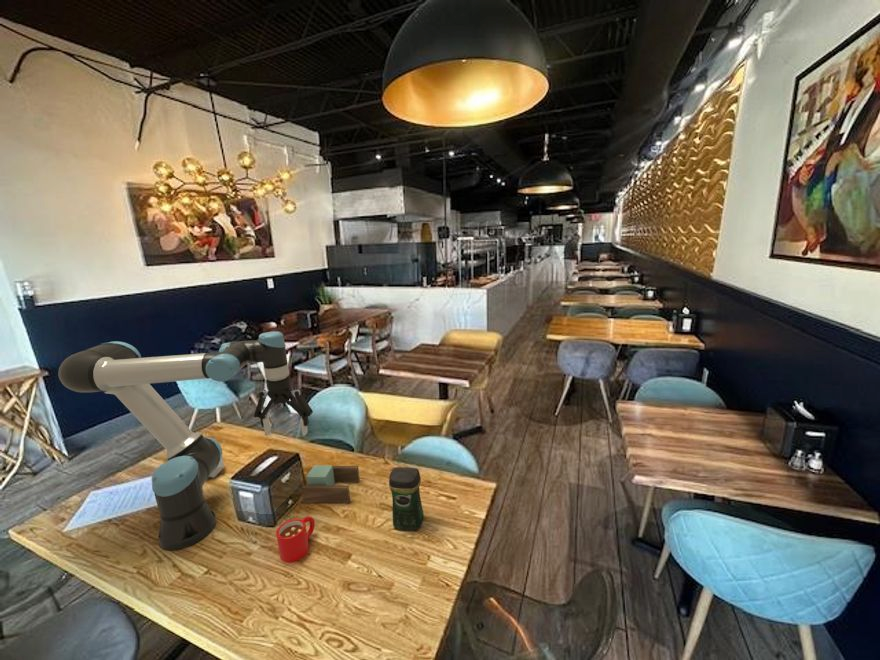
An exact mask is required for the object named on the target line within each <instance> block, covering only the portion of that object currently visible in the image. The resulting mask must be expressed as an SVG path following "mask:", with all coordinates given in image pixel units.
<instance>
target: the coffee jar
mask: <svg viewBox="0 0 880 660" xmlns="http://www.w3.org/2000/svg"><path fill="white" fill-rule="evenodd" d="M420 474H421V473H420V470H419V469H418V468H416V467H408V466H406V467H405V466H403V467H402V466H399V467H398V466H396V467H393V468H392V470H391V471H390V473H389V478H388V487H389V489H390V492H391V498H392V514H391V515H392V525H393V527H394V529H397V530H401V531H402V530H403V531H417V530H418V529H420V528H421V527H422V525H423V522H424V518H425V517H424V516H425V515H424V509H423V505H422V501H421V500H422V499H421V493H420V487H421V482H422V478H421V475H420Z"/></svg>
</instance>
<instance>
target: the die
mask: <svg viewBox="0 0 880 660" xmlns="http://www.w3.org/2000/svg"><path fill="white" fill-rule="evenodd" d="M225 467H226V466H225V461H224V458H223V456H222V457H221V460H220V462H219V464H218V466H217V468H216V469H215V470H214V471H213V472H212V474H211V475H210V476H209V478H212V479H215V477H217V475H218V474H219V473H220V472H221V471H222V470H223V469H224V468H225Z"/></svg>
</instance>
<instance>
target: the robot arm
mask: <svg viewBox="0 0 880 660" xmlns="http://www.w3.org/2000/svg"><path fill="white" fill-rule="evenodd" d="M286 347H287V345H286V343H285V339H284V335H283V333H282V332H281V331H268V332H262V333H260V334H259V335H258V339H256V340H255V339H254V340H242V341H231V342H223V343H222V344H221V345H220V348H219V350H218V352H208V353H207V352H204V353H203V352H202V353H192V354H191V353H190V354H177V355H164V356H163V355H162V356H150V357H149V356H147V357H142V356H141V353H140V351H138V349H137V347H134V346H133V345H132V344H129V343H127V342H124V341H110V342H104V343H103V342H102V343H100V344H98V345H95V346H93V347H90V348H87V349H85V350H82V351H79V352H76V353H74V354H71V355H69V356H68V357H67V358H65V359H64V360H63V361H62V363H61V364H60V366H59V367H58V374H57V375H58V376H57V377H58V378H59V381H60V382H61V384H62V385H63V386H64V387H65V388H67V389H68V390H69V391H73V392H75V393H98V392H103V393H104V394H110V395H114V396H115V397H116V398H117V399H118V400H119V401H120V402H121V403H122V404H123V405H124V406H125V408H127V409H128V410H129V412H130V413H131V414H132V415H133V416H134V417H135V418H136V419H137V420H138V421H139V422H140V424H142V426H143V427H144V428H145V429H147V431H148V432H149V433H150V434H151V435H152V436H153V437H154V439H155V440H157V441H158V443H159V444H160V445H161V446H162V447H163V448H164V449H165V450H166V455H165V459H167V461H165V462H163V463H162V464H160V465H159V466H158V467H156V469H155V470H154V472H153V473H152V475H151V488H152V491H153V493H154V498H155V500H156V505H157V510H158V513H159V517H160V524H159V530H158V531H159V532H158V535H157V537H158V538H157V539H158V543H159V546H160V548H161V549H163V550H165V551H176V550H181V549H184V548H189V547H190V546H192V545H195V544H196V543H198V542H199V541H202V540H203V539H204V538H206V536H208V535H209V534H210V533H211V532H212V531H213V530H214V528H215V526H216V524H217V518H216V514H215V512H214V511H213V510H212V509H211V508H210V506H209V505H208V503H207V502H206V500H205V494H204V489H203V487H204V484H205V483H206V482H207V480H208V479H209V478H210V477H209V476H210V475H211V474H212V472H213V471H214V470H215V469H216V468H217V466H218V464H219V462H220V460H221V457H223V450H222V449H223V448H222V446H221V444H220V443H219V441H217V440H216V439H215V438H213V437H209V436H204V435H203V434H202V433H201V432H194V431H192V430H191V429H190V427H189V426H188V425H187V424H186V423H185V422H184V421H183V419H182V418H181V417H180V416H179V415H178V414H177V413H176V412H175V411H174V409H173V408H172V407H171V406H170V405H169V404H168V403H167V402H166V401H165V399H164V398H163V397H162V396H161V395H160V394H159V393H158V392H157V391H156V389H154V387H153V386H152V385H151V384H161V383H171V382H173V383H174V382H182V381H183V382H184V381H194V380H205V379H207V380H208V379H211V380H213V381H216V382H220V383H221V382H226V381H229V380H231V379H232V378H233V377H235V376H236V375H237V374H238V373H239V372H240V371H241V370H242V369H243V368H244V367H245V366H246V365H247V364H257V363H262V364H263V372H264V378H265V379H266V381H265V383H266V389H267V390H266V389H262V391H260V392H259V393H258V394H259V395H258V397H259V399H258V401H257V405H256V408H255V411H254V414H253V416H254V418H259V419H260V424H261V427H262V428H263V430H264V434H265V435H264V436H265V437H268V436H270V435H271V434H272V428H271V427H272V426H271V422H270V417H269V415H268V413H269V412H270V411H271V409H272V407H273V406H274V404H276V405H279V404H283V405H285V404H287V405H288V406H290V407H291V408H292V409H293V410H294V411H295V412H296V413H297V414H298V415H299V416H300V418H299V420H300V427H301V434H302V436H303V437H304V436H306V435H307V433H308V431H309V430H308V425H309V424H310V420H309V417H310V416H311V415H312V414H313V413H314V410H313V409H312V407H311V406H310V404H309V403H308V402H307V400H306V398H305V397H304V395H303V394H302V389H300V388H298V389H296V390H294V389H292V382H291V376H290V370H289V363H288V358H287V357H288V355H287V350H286ZM267 397H269V402H268V403H267V404H266V406H265V402H266V399H267ZM264 406H265V407H264Z"/></svg>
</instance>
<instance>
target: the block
mask: <svg viewBox="0 0 880 660" xmlns="http://www.w3.org/2000/svg"><path fill="white" fill-rule="evenodd" d="M333 466H334V465H330V464H329V465H327V464H325V465H323V464H322V465H321V464H320V465H313V466H312V468H311V469H310V470H309V472H308V473H307V475H306V476H305V478H306V485H336V482H335V481H334V473H333Z"/></svg>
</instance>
